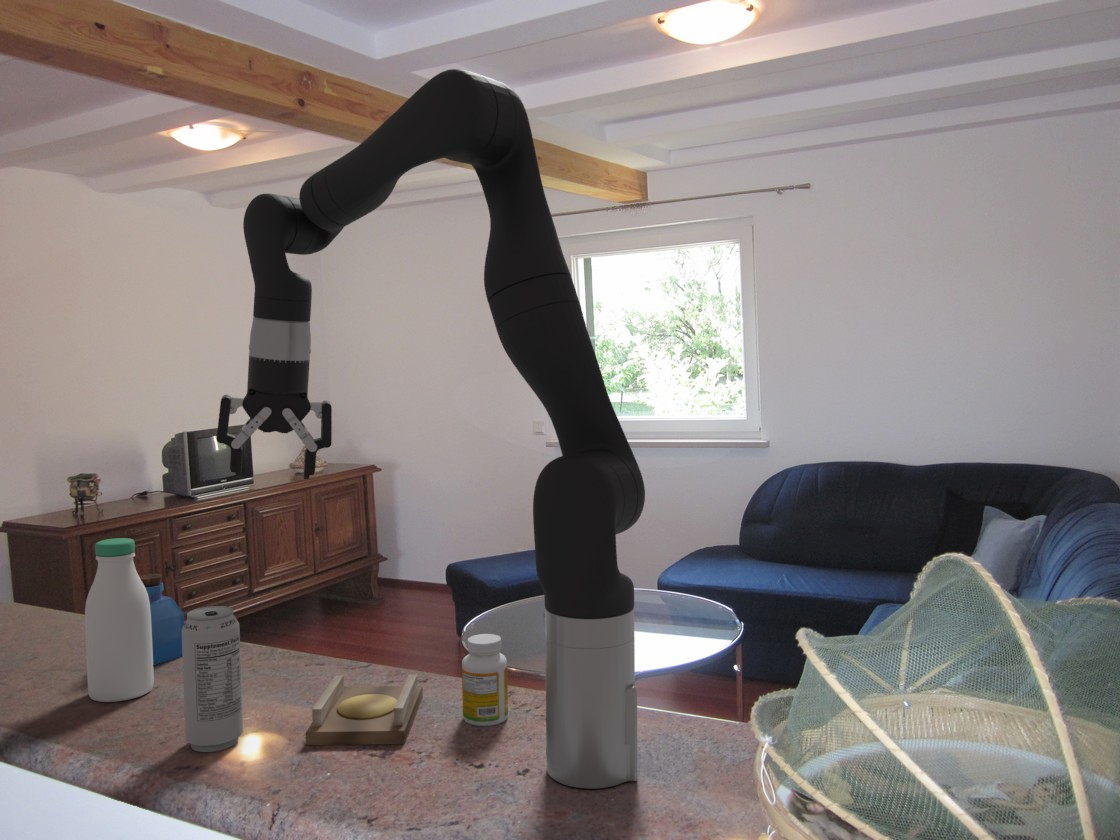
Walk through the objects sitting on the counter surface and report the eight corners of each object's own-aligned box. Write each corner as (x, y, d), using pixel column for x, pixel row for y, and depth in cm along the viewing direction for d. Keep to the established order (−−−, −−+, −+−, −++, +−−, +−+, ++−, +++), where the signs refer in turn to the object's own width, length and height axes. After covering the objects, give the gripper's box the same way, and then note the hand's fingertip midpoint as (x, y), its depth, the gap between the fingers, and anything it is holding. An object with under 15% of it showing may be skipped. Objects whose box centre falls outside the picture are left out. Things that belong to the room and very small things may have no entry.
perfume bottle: (185, 655, 134) (182, 574, 133) (146, 667, 128) (142, 583, 128) (159, 648, 137) (156, 569, 136) (120, 660, 132) (117, 578, 131)
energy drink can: (235, 727, 107) (231, 601, 106) (249, 745, 102) (245, 613, 101) (181, 740, 104) (175, 610, 103) (192, 759, 99) (187, 622, 98)
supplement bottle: (485, 706, 113) (483, 628, 112) (517, 716, 109) (516, 637, 109) (453, 719, 109) (451, 639, 108) (486, 731, 105) (484, 648, 105)
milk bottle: (164, 691, 119) (157, 539, 118) (102, 709, 113) (94, 549, 112) (139, 678, 124) (133, 532, 123) (79, 693, 119) (71, 541, 117)
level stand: (422, 697, 116) (422, 670, 116) (404, 743, 102) (404, 713, 102) (335, 698, 116) (335, 671, 116) (306, 745, 102) (305, 714, 102)
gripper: (219, 353, 112) (213, 482, 114) (338, 361, 117) (330, 485, 119) (222, 347, 119) (216, 468, 121) (334, 355, 124) (326, 472, 126)
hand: (272, 476), depth 120 cm, fingers open, 8 cm apart
